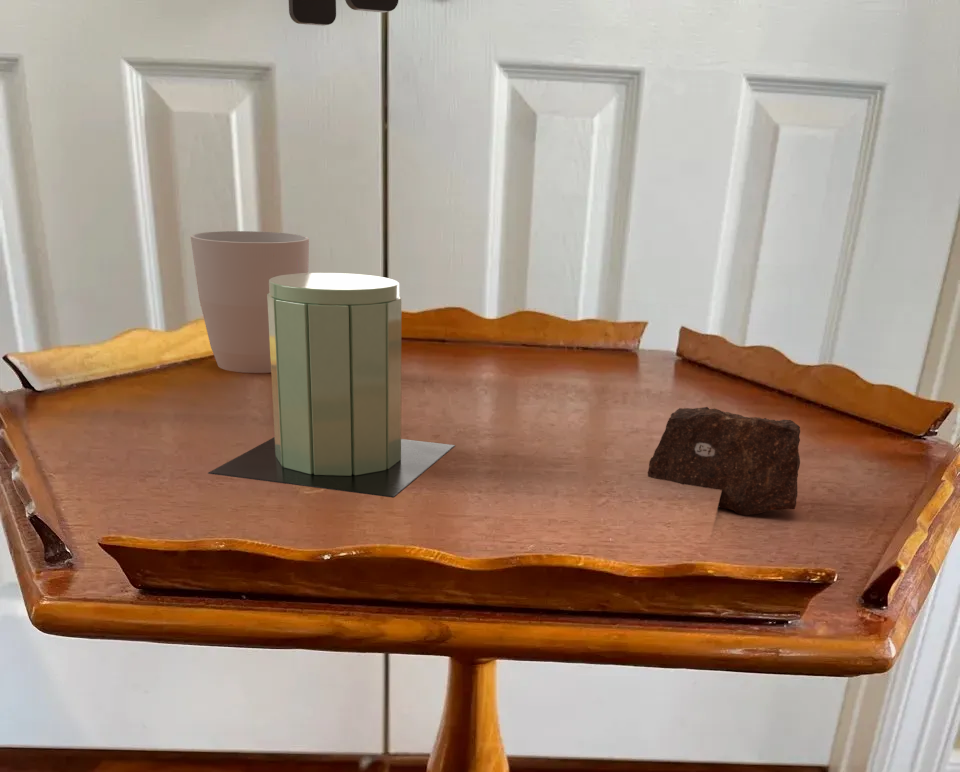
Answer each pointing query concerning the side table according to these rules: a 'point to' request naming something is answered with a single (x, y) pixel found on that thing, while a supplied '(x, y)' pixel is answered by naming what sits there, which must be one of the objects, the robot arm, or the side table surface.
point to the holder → (383, 483)
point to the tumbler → (336, 372)
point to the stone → (731, 458)
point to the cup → (242, 290)
